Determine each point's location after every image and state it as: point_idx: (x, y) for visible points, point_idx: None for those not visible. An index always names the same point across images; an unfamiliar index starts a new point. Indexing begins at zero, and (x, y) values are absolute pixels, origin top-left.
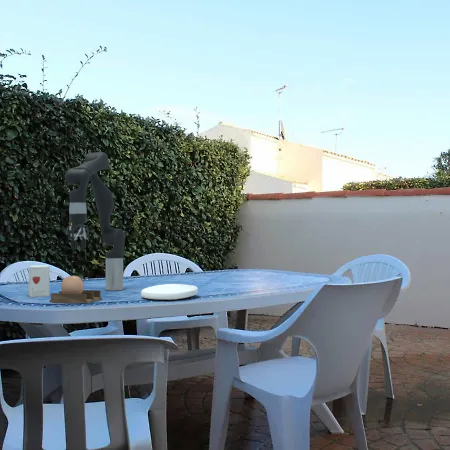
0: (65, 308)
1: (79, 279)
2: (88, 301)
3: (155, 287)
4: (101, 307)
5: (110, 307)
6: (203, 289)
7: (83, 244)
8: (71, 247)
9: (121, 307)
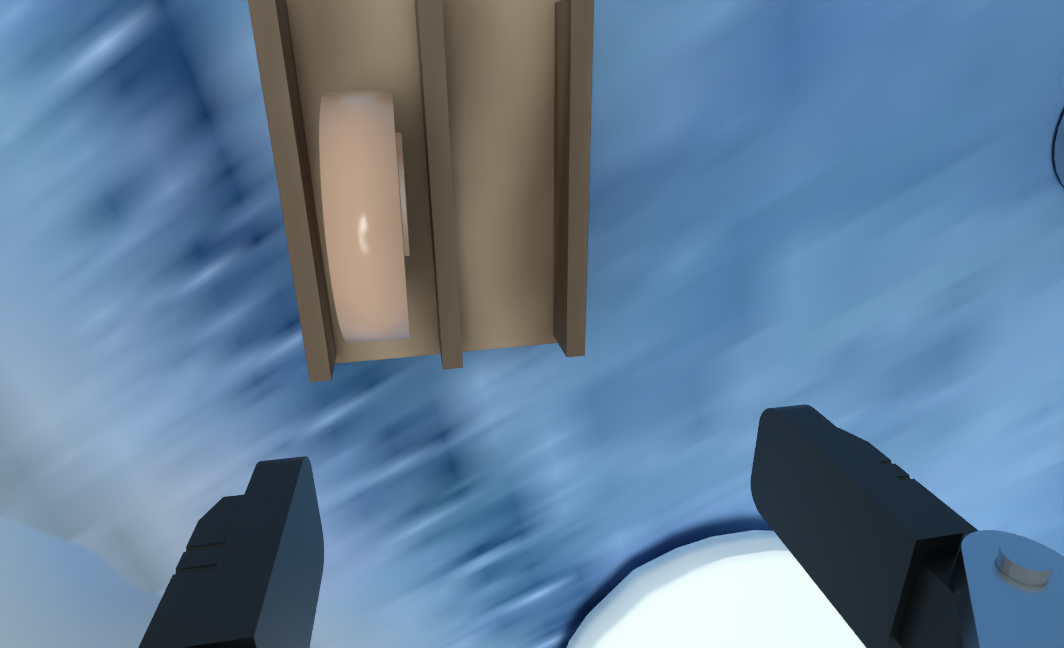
0: (45, 339)
1: (367, 332)
2: (354, 358)
3: None
4: None
5: None
6: None
7: (802, 514)
8: (219, 510)
9: None
